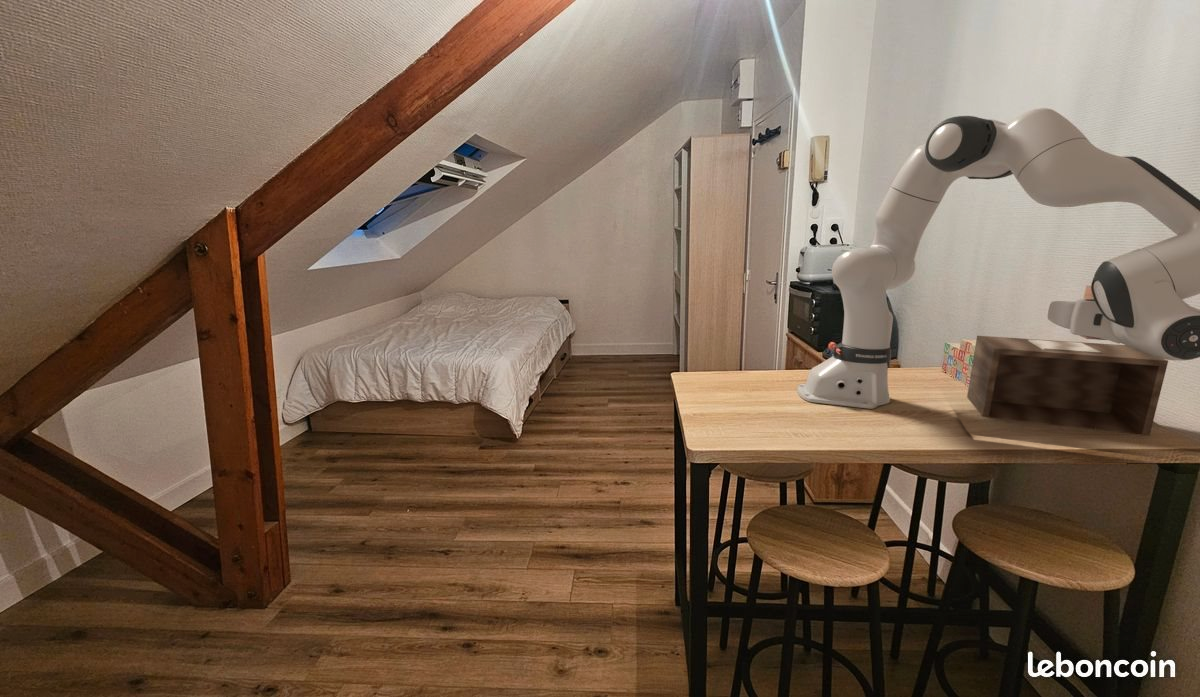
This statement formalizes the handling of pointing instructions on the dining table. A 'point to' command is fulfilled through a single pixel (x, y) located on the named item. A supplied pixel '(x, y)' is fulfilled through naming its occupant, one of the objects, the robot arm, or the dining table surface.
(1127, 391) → the cubby
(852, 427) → the dining table surface
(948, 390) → the dining table surface
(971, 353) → the stack of blocks
